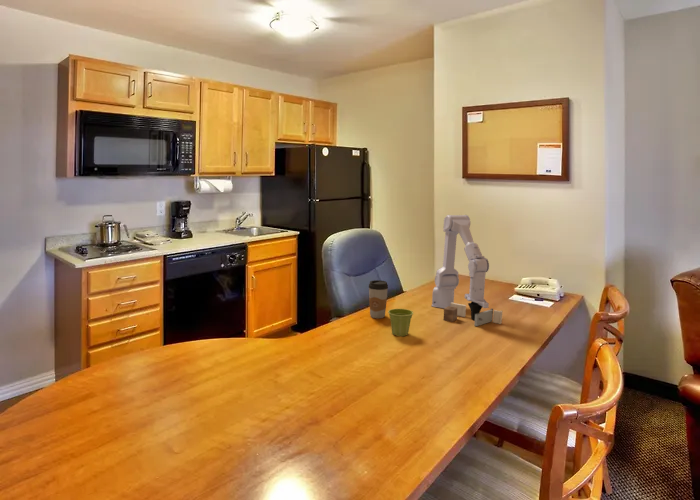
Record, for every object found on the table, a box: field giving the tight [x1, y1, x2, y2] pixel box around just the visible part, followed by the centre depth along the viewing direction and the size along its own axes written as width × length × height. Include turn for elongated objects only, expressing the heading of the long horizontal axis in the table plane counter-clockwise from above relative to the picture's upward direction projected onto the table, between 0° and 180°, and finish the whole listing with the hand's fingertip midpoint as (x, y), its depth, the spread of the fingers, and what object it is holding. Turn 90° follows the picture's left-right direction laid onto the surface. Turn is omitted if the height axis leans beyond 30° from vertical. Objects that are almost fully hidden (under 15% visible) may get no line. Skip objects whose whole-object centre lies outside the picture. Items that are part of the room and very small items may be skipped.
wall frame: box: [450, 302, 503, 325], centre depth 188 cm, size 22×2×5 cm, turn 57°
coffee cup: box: [368, 279, 389, 319], centre depth 188 cm, size 8×8×15 cm
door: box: [473, 308, 494, 327], centre depth 180 cm, size 11×2×5 cm, turn 128°
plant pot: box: [387, 308, 414, 337], centre depth 167 cm, size 9×9×9 cm
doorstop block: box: [443, 306, 458, 323], centre depth 186 cm, size 4×5×5 cm
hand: (474, 320), depth 180 cm, fingers closed, pressing on door
